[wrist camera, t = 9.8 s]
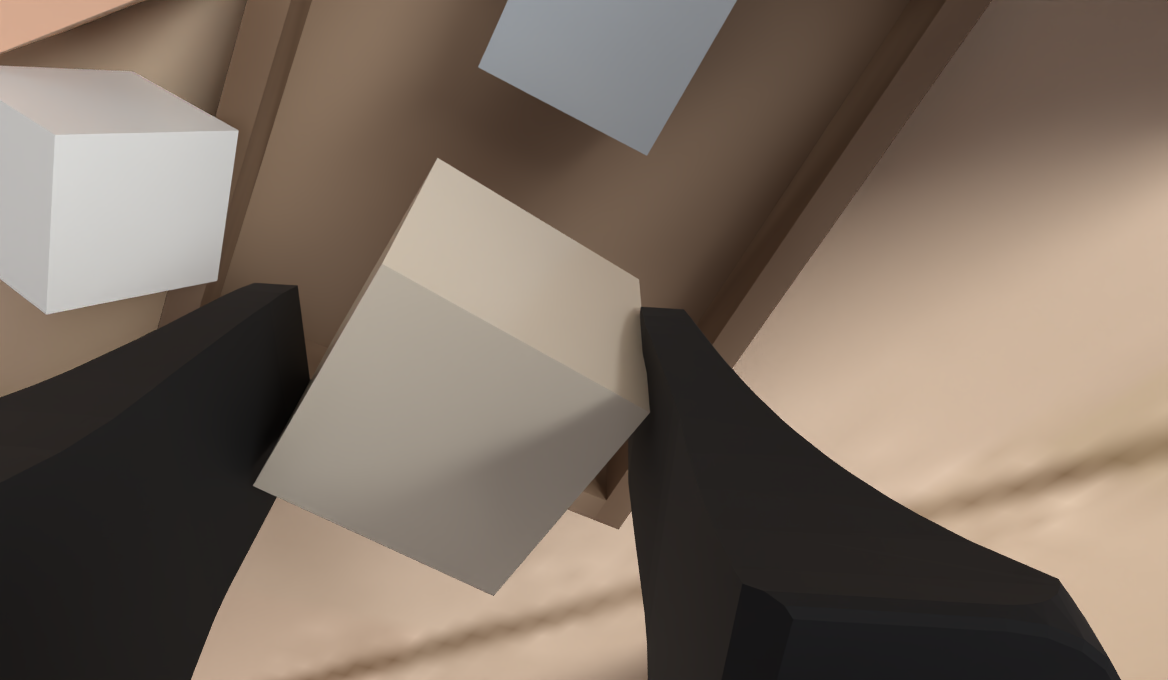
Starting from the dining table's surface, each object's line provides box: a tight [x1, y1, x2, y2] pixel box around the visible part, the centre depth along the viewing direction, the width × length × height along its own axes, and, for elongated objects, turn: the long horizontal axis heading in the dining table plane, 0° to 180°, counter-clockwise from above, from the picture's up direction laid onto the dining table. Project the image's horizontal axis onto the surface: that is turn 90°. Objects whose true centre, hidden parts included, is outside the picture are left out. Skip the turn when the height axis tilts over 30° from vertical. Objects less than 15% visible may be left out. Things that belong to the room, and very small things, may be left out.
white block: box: [0, 66, 239, 315], centre depth 17 cm, size 3×4×3 cm
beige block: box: [253, 158, 650, 596], centre depth 11 cm, size 3×4×3 cm
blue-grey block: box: [478, 0, 737, 156], centre depth 16 cm, size 3×4×3 cm
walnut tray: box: [158, 0, 992, 529], centre depth 19 cm, size 12×16×2 cm
